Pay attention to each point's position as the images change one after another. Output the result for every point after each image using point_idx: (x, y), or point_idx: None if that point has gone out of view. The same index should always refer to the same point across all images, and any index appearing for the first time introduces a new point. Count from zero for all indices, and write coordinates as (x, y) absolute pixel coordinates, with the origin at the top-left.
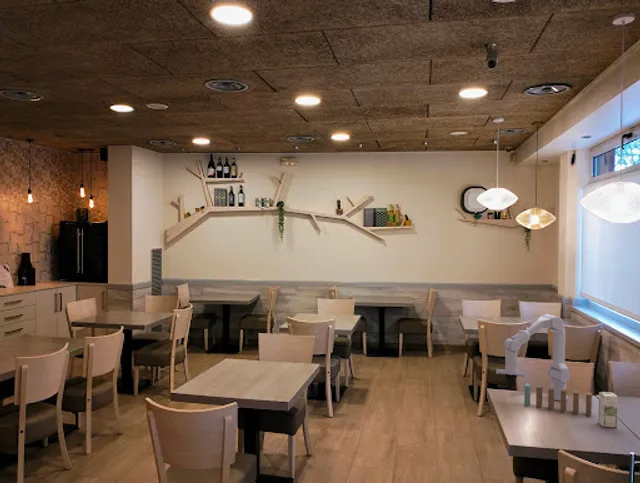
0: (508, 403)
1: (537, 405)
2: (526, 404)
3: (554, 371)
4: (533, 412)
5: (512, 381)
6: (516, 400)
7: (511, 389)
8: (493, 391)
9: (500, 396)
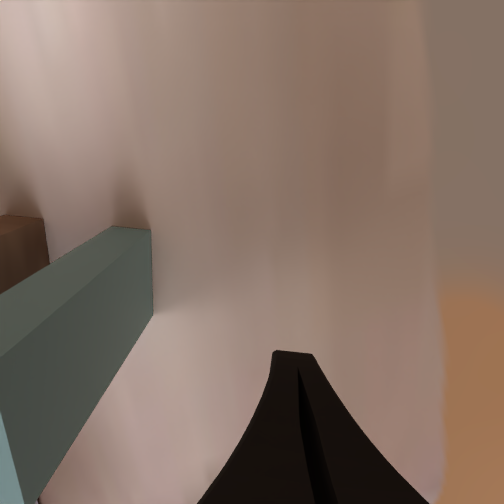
0: (299, 234)
1: (13, 225)
2: (123, 232)
3: None
4: (13, 35)
5: (260, 468)
6: (238, 347)
7: (279, 353)
8: (429, 482)
9: (375, 395)
